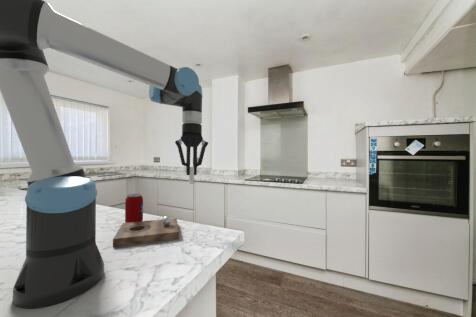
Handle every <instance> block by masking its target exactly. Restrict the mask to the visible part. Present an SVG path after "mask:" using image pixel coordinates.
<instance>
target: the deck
mask: <svg viewBox="0 0 476 317" xmlns="http://www.w3.org/2000/svg"><path fill="white" fill-rule="evenodd" d="M171 220H172V221H171V223H170V224H169V225H168V226H165V225H163V224H162V219H153V220H152V219H151V220H143V221H140V222H128V223H125V222H123V223H122V224H121V225H120V227H119V228H118V230H117V231H116V233H115V235H114V237H113V239H112V248H115V247H124V246H132V245H141V244H148V243H155V242H164V241H165V242H166V241H172V240H179V239H180V237H179V236H180V230H179V224H178V220H177V217H175V218H171Z"/></svg>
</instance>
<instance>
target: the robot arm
mask: <svg viewBox="0 0 476 317" xmlns="http://www.w3.org/2000/svg"><path fill="white" fill-rule="evenodd" d="M45 49H52V50H54V51H57V52H59V53H61V54H62V53H63V54H65V55H67V56H70V57H73V58H76V59H78V60H82V61H84V62H87V63H88V64H92V65H95V66H97V67H100V68H102V69H104V70H108V71H111V72H112V73H116V74H118V75H122V76H124V77H126V78H128V79H132V80H134V81H138V82H140V83H143V84H145V85H148V86H149V87H148V97H149V100H150V101H151V102H153V103H157V104H160V105H166V106H174V107H179V108H181V109H182V110H181V112H182V115H181V116H182V118H181V120H182V125H181V136H180V138H179V139H178V140H175V141H174V144H175V145H176V147H177V149H178V153H179V158H180V162H181V165H182V166H185V167H186V171H185V172H186V176H188V183H189V184H190V185H193V184H195V176H196V175H197V172H198V171H197V170H198V167H199V166H201V165H202V163H203V160H204V155H205V152H206V148H207V146H208V144H209V141H205V140H204V138H203V135H202V132H203V131H202V129H203V128H202V127H203V125H202V123H203V122H202V121H203V120H202V119H203V118H202V117H203V114H202V112H203V89H202V86H201V84H200V79H199V76H198V74H197V73H196V71H195V70H194V69H192V68H190V67H188V66H182V67H179V68H176V67H174V66H173V65H169V64H168V63H165V62H164V61H162V60H160V59H157V58H155V57H153V56H151V55H149V54H146V53H144V52H142V51H140V50H138V49H136V48H134V47H131V46H129V45H127V44H124V43H123V42H120V41H118V40H116V39H114V38H112V37H110V36H108V35H105V34H103V33H102V32H100V31H97V30H95V29H93V28H91V27H89V26H86V25H84V24H82V23H80V22H78V21H76V20H73V19H72V18H70V17H67V16H65V15H63V14H61V13H59V12H57V11H55V10H54V9H53V7H52V6H51V5H50V3H49V2H47V1H45V0H0V93H1V95H2V98H3V100H4V104H5V106H6V108H7V111H8V114H9V116H10V119H11V122H12V124H13V127H14V129H15V131H16V134H17V137H18V139H19V142H20V145H21V148H22V150H23V151H24V152H23V153H24V155H25V158H26V160H27V163H28V165H29V168H30V170H31V174H30V176H29V177H28V178H27V179H26V183H27V186H28V187H27V189H26V194H25V196H24V202H25V205H26V211H25V213H26V221H25V222H26V223H25V224H26V229H25V230H26V231H25V232H26V233H25V234H26V235H25V239H26V240H25V259H24V262H23V264H22V266H21V269H20V271H19V273H18V276H17V278H16V280H15V283H14V285H13V287H12V302H13V305H15V306H16V307H19V308H24V309H35V308H42V307H48V306H51V305H55V304H60V303H62V302H65V301H68V300H70V299H72V297H73V298H75V297H77V296H79V295H81V294H83V293H86V291H88V290H90V289H92V288H93V287H94V286H96V285H97V284H98V283H99V282H100V281H101V279H102V278H103V277H104V275H105V263H104V262H105V261H104V259H103V257H102V255H101V252H100V250H99V247H98V245H97V241H96V235H97V234H96V233H97V231H96V227H97V226H96V222H97V221H96V219H97V218H96V217H97V215H96V214H97V213H96V212H97V205H96V204H97V195H98V190H97V186H96V182H95V181H94V180H93V179H91V178H89V177H87V176H86V173H85V171H84V167H83V166H80V165H78V164H76V163H75V161H74V159H73V156H72V153H71V150H70V147H69V144H68V141H67V139H66V136H65V133H64V130H63V128H62V124H61V122H60V119H59V116H58V115H59V114H58V112H57V109H56V107H55V104H54V101H53V99H52V98H53V97H52V95H51V93H50V90H49V87H48V84H47V82H46V81H47V80H46V78H45V75H46V74H47V73H48V72H49V71H50V68H49V65H48V62H47V59H46V56H45V52H44V50H45ZM182 144H184V146H185V147H186V155H185V156H186V160H185V157H184V152H183V148H182ZM200 144H201V149H200V153H199V156H198V147H199V145H200ZM191 148H192V166H191ZM67 299H68V300H67Z"/></svg>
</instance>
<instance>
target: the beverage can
mask: <svg viewBox="0 0 476 317" xmlns="http://www.w3.org/2000/svg"><path fill="white" fill-rule="evenodd" d="M124 203H125V204H124V211H125V212H124V223H128V222H140V221H144V198H143V196H142V194H141V193H131V194H127V196H126V198H125V202H124Z"/></svg>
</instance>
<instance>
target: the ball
mask: <svg viewBox="0 0 476 317" xmlns="http://www.w3.org/2000/svg"><path fill="white" fill-rule="evenodd" d="M171 219H172V218H171V217H170V216H168V215H166V216H164V217H162V218H161V220H162V224H163V225H165V226H168V225H169V224H170V223H171V221H172V220H171Z"/></svg>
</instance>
